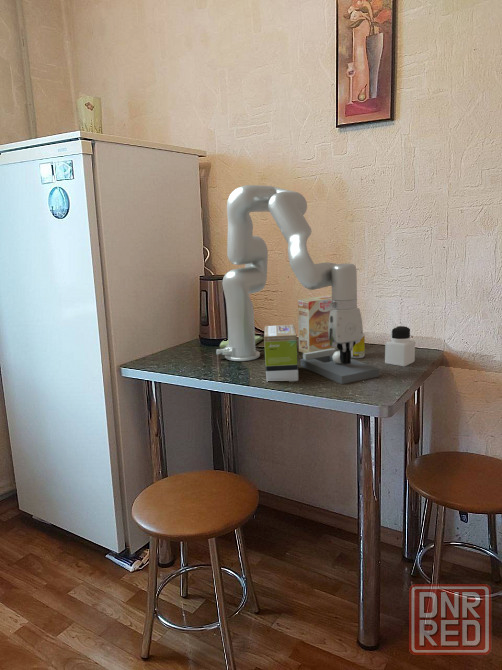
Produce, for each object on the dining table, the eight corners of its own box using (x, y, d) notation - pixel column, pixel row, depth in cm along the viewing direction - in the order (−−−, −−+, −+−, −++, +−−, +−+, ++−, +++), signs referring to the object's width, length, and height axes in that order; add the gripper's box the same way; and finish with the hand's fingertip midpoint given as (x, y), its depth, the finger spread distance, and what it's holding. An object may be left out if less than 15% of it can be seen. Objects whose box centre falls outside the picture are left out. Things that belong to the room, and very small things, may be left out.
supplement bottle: (367, 356, 182) (368, 327, 180) (357, 359, 179) (357, 330, 177) (355, 353, 186) (355, 325, 184) (344, 356, 183) (344, 328, 181)
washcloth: (264, 341, 214) (264, 333, 213) (248, 351, 198) (248, 343, 197) (234, 339, 219) (234, 332, 218) (217, 350, 202) (216, 342, 202)
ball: (335, 351, 164) (329, 351, 167) (337, 364, 164) (330, 364, 167) (346, 350, 165) (340, 350, 169) (348, 363, 165) (341, 362, 169)
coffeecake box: (309, 355, 187) (308, 301, 183) (298, 351, 193) (296, 299, 189) (342, 348, 194) (342, 296, 190) (330, 345, 200) (329, 294, 196)
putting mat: (341, 384, 154) (341, 329, 150) (300, 366, 174) (299, 317, 171) (379, 376, 160) (380, 323, 156) (335, 359, 180) (335, 312, 177)
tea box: (265, 368, 173) (264, 324, 170) (296, 367, 173) (295, 323, 170) (265, 382, 159) (263, 335, 155) (299, 381, 158) (297, 333, 155)
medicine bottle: (414, 361, 173) (415, 326, 171) (404, 366, 168) (405, 330, 166) (395, 358, 178) (395, 324, 176) (384, 363, 173) (385, 327, 171)
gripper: (330, 309, 153) (332, 369, 157) (372, 303, 159) (372, 361, 163) (316, 306, 160) (318, 364, 164) (357, 300, 166) (357, 356, 170)
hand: (345, 362), depth 163 cm, fingers closed
